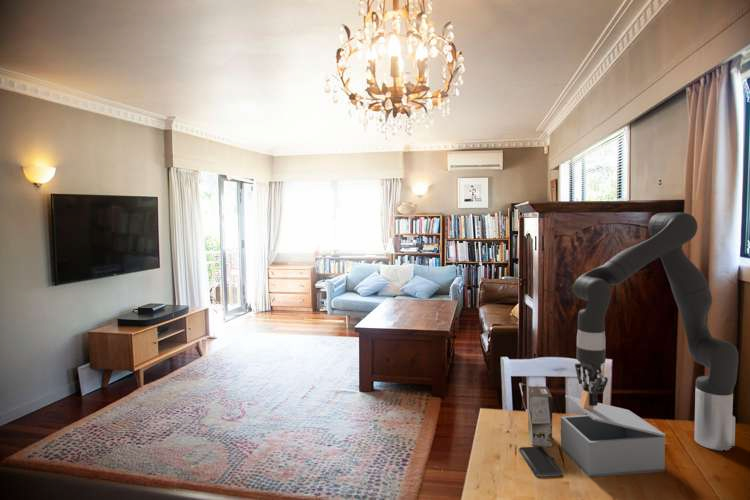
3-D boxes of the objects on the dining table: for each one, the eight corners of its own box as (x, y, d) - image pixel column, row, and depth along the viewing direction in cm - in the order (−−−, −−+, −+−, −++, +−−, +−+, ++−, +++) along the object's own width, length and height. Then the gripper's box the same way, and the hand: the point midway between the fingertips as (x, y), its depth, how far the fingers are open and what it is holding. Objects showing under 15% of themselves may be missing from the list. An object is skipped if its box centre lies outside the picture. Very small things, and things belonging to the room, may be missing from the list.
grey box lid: (628, 411, 140) (632, 396, 140) (665, 436, 124) (670, 419, 124) (564, 396, 138) (569, 381, 138) (594, 420, 122) (599, 402, 122)
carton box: (627, 442, 141) (628, 412, 140) (664, 471, 125) (665, 437, 124) (560, 447, 139) (560, 416, 139) (589, 477, 123) (589, 442, 123)
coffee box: (553, 447, 140) (553, 397, 139) (531, 445, 141) (531, 396, 140) (547, 433, 149) (547, 386, 148) (527, 431, 150) (527, 385, 149)
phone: (536, 475, 124) (518, 447, 139) (536, 479, 124) (518, 450, 139) (564, 474, 124) (543, 446, 139) (564, 478, 124) (543, 449, 139)
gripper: (618, 352, 122) (617, 412, 124) (589, 338, 136) (589, 393, 138) (591, 353, 122) (591, 414, 123) (566, 339, 136) (565, 394, 137)
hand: (590, 402), depth 130 cm, fingers closed on grey box lid, 2 cm apart
